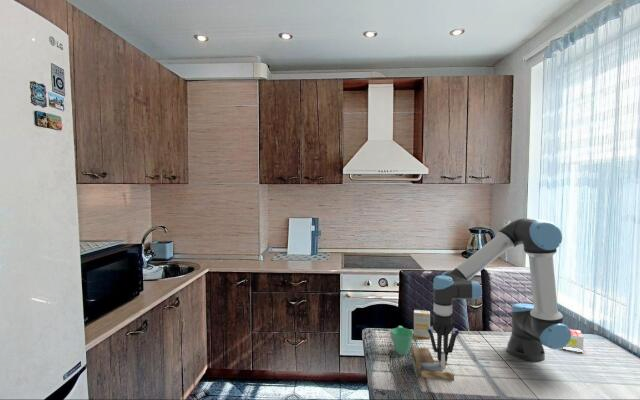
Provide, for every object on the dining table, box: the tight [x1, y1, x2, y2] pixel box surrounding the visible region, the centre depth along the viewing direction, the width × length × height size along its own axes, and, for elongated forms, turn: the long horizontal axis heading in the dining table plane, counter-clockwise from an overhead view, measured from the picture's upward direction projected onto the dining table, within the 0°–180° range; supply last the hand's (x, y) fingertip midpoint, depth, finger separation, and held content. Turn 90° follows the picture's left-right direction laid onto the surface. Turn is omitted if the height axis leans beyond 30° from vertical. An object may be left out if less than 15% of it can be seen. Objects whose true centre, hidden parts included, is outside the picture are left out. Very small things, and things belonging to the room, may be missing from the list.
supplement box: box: [413, 309, 431, 340], centre depth 174 cm, size 8×5×13 cm, turn 71°
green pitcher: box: [391, 325, 414, 356], centre depth 159 cm, size 15×10×10 cm
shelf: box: [411, 347, 455, 382], centre depth 140 cm, size 15×13×7 cm
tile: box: [421, 362, 444, 371], centre depth 140 cm, size 9×7×3 cm
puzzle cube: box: [565, 328, 585, 351], centre depth 161 cm, size 8×8×8 cm
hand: (442, 367), depth 140 cm, fingers closed
